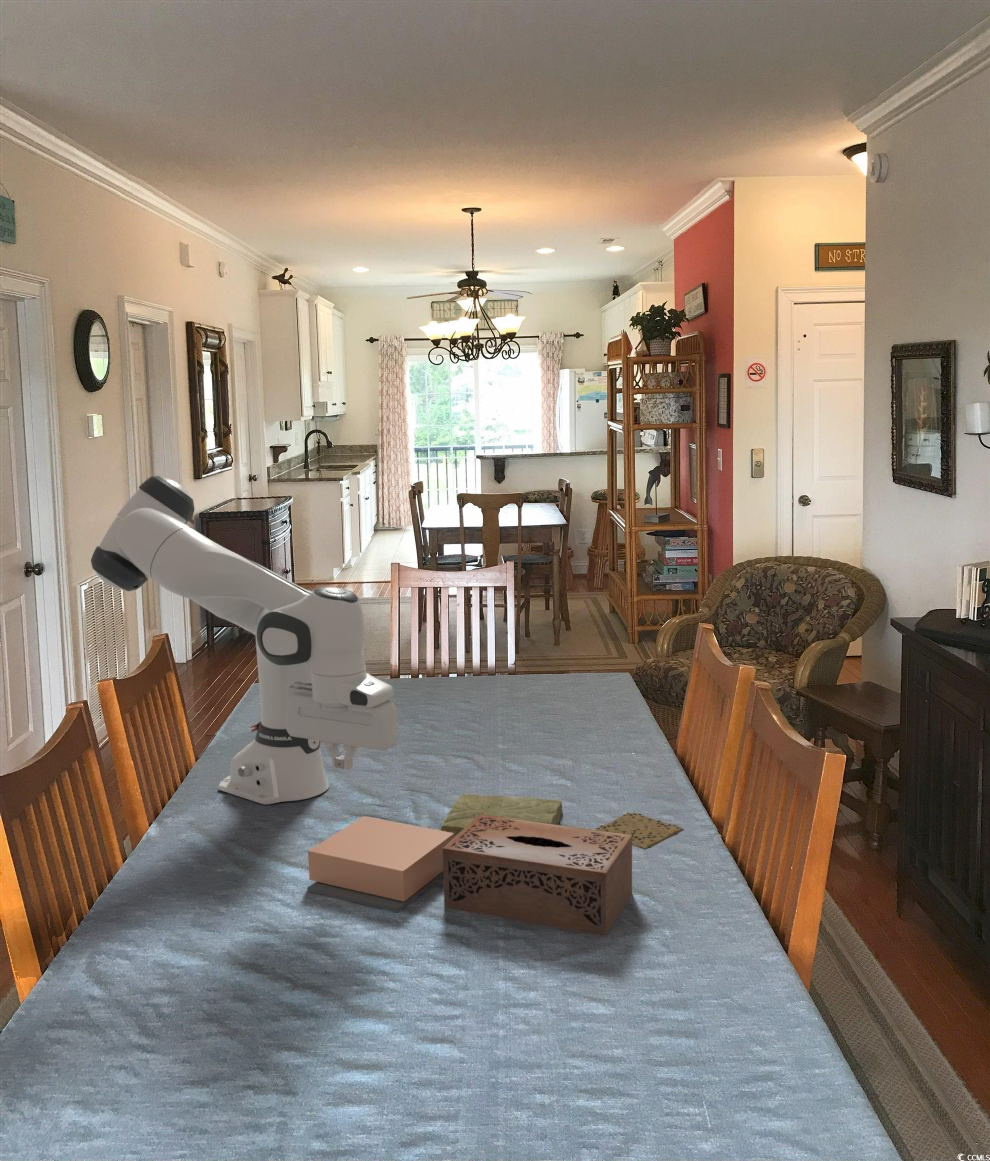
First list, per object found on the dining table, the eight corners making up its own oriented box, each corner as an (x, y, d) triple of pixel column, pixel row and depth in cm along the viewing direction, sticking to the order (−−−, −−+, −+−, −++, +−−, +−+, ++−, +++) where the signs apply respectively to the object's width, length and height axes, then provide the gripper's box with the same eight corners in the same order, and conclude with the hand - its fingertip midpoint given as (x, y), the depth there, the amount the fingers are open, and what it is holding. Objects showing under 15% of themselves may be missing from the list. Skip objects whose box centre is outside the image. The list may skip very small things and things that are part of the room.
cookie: (590, 833, 195) (590, 828, 195) (632, 814, 204) (632, 809, 204) (645, 852, 187) (645, 846, 187) (685, 831, 195) (685, 826, 195)
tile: (307, 850, 175) (403, 871, 167) (363, 816, 189) (454, 833, 181) (309, 881, 176) (404, 903, 168) (365, 844, 190) (454, 862, 182)
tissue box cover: (444, 909, 167) (442, 848, 166) (480, 871, 180) (479, 814, 179) (606, 938, 158) (605, 873, 156) (632, 895, 171) (632, 835, 169)
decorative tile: (459, 807, 209) (459, 790, 208) (563, 814, 205) (563, 796, 204) (434, 847, 191) (434, 828, 190) (547, 855, 187) (547, 835, 186)
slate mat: (307, 891, 174) (307, 887, 174) (376, 844, 191) (376, 841, 191) (397, 912, 166) (397, 908, 166) (461, 861, 184) (461, 858, 183)
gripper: (275, 684, 179) (279, 765, 181) (381, 698, 170) (384, 783, 172) (299, 675, 185) (302, 753, 187) (402, 688, 176) (404, 770, 178)
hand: (342, 767), depth 180 cm, fingers closed
